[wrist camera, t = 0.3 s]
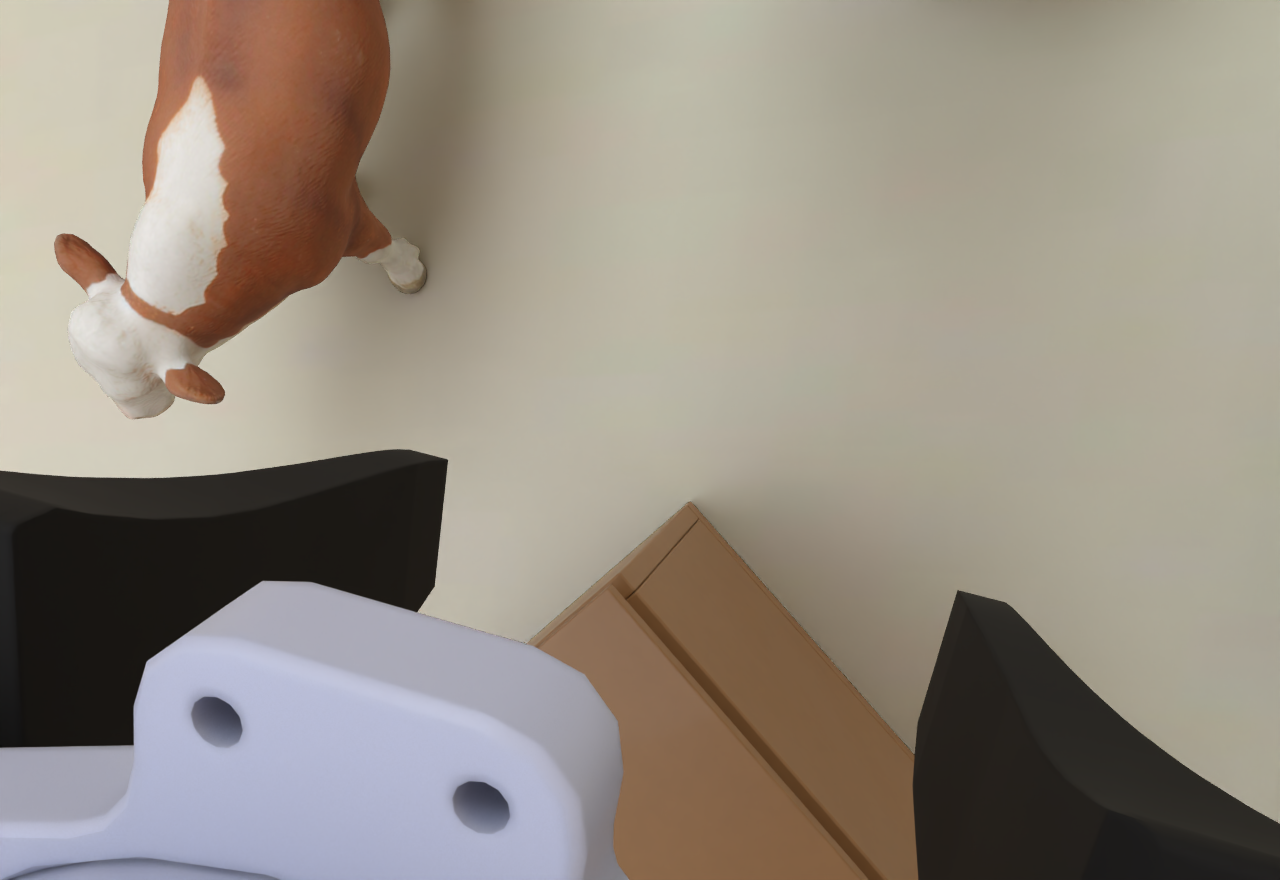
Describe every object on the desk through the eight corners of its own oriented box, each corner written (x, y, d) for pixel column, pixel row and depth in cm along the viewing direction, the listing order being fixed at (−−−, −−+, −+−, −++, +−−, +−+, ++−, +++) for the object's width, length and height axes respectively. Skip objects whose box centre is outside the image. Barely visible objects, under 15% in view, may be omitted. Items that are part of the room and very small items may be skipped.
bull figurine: (249, 375, 27) (-16, 411, 19) (369, -160, 24) (113, -374, 16) (394, 430, 26) (178, 491, 18) (536, -118, 23) (351, -322, 16)
